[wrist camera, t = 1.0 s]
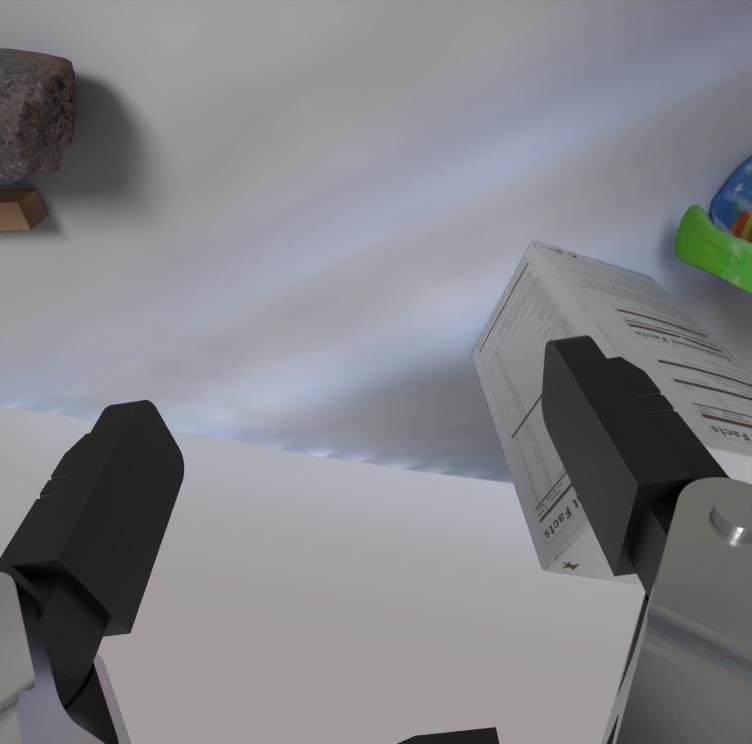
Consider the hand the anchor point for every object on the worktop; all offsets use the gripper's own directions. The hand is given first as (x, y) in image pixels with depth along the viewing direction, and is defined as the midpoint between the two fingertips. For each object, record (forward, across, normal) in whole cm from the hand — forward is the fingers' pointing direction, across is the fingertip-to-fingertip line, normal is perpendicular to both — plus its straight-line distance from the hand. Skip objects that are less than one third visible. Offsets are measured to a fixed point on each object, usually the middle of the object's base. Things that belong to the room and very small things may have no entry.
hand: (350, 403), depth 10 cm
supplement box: (+21, -12, +13) cm, 27 cm away
